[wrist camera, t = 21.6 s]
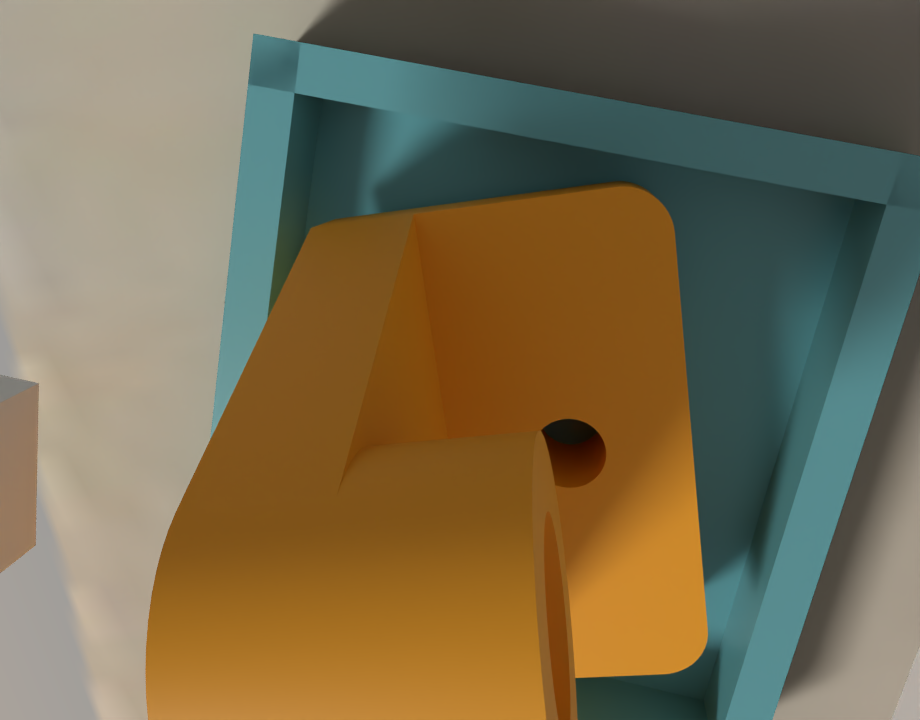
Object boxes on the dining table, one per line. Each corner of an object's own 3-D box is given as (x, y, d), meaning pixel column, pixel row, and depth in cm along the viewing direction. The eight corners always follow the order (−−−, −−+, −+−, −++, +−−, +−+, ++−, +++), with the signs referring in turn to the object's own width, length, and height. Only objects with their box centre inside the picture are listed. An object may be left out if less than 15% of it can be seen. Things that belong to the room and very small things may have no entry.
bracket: (696, 608, 22) (820, 1139, 10) (414, 623, 23) (246, 1115, 12) (658, 172, 19) (770, 238, 8) (345, 215, 21) (41, 327, 9)
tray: (292, 44, 20) (253, 34, 18) (909, 158, 19) (956, 162, 17) (226, 607, 24) (187, 660, 22) (729, 729, 23) (745, 798, 21)
